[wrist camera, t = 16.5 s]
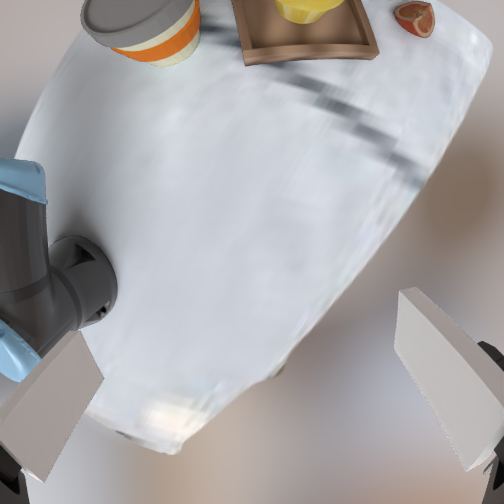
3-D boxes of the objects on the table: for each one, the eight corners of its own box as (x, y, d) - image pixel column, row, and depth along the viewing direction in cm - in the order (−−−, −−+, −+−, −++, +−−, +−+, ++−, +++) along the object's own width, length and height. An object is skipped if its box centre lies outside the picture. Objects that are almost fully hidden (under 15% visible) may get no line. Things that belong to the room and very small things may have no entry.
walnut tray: (245, 66, 31) (244, 58, 28) (226, -23, 26) (224, -33, 23) (371, 60, 30) (379, 53, 27) (339, -27, 25) (344, -36, 22)
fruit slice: (404, 1, 26) (416, -10, 21) (433, 28, 27) (448, 19, 22) (383, 20, 28) (395, 7, 23) (414, 49, 29) (429, 39, 24)
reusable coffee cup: (206, 1, 28) (185, -58, 13) (219, 64, 31) (197, 11, 17) (128, 25, 29) (82, -17, 14) (134, 89, 32) (76, 59, 18)
